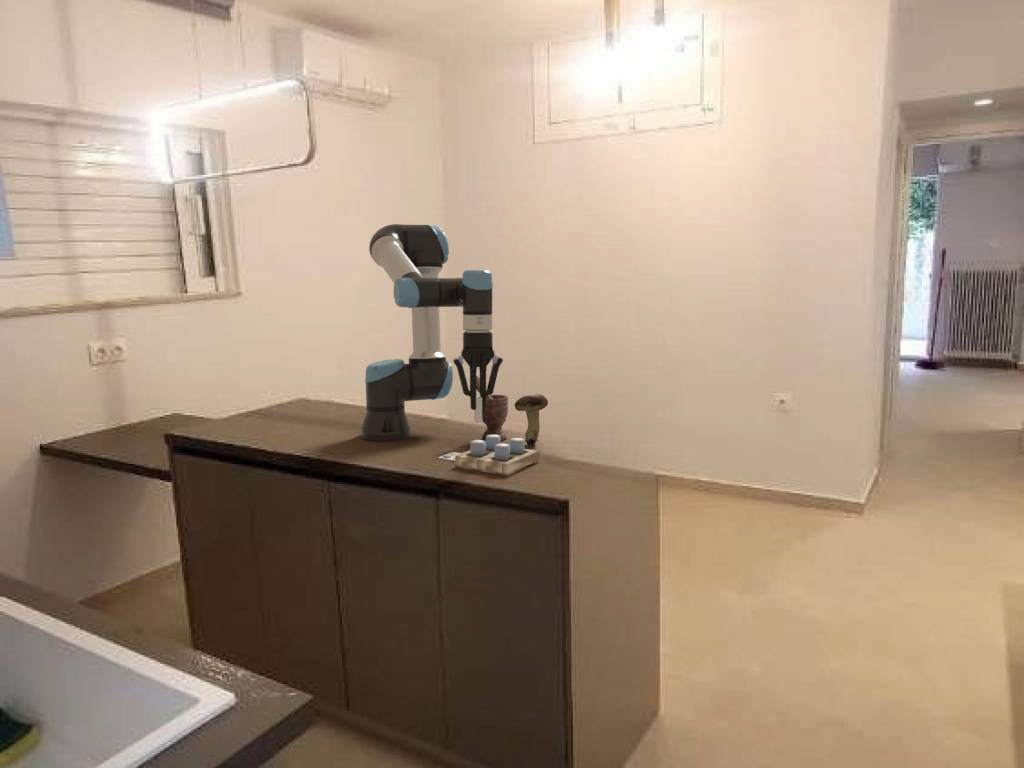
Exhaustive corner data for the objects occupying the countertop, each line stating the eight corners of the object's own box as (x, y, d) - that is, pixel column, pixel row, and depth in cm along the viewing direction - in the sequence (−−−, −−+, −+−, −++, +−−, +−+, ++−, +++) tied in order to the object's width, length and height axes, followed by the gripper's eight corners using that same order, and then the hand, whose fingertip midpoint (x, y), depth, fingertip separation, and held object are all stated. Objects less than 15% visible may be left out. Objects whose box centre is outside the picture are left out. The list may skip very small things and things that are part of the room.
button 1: (467, 455, 187) (467, 442, 187) (475, 452, 191) (475, 439, 190) (480, 457, 185) (480, 443, 185) (488, 454, 189) (488, 440, 188)
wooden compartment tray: (455, 466, 187) (455, 455, 186) (488, 453, 200) (488, 443, 200) (507, 476, 179) (507, 464, 178) (538, 461, 192) (538, 450, 192)
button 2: (483, 449, 194) (483, 436, 193) (490, 446, 197) (490, 433, 196) (495, 451, 192) (495, 438, 191) (503, 448, 195) (503, 435, 194)
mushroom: (553, 444, 212) (554, 394, 209) (534, 450, 205) (535, 398, 203) (529, 439, 218) (529, 391, 215) (510, 444, 211) (510, 394, 209)
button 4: (506, 453, 190) (506, 439, 189) (514, 450, 193) (514, 437, 193) (519, 455, 188) (519, 441, 187) (527, 452, 191) (527, 438, 191)
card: (437, 458, 195) (437, 457, 195) (452, 453, 201) (452, 451, 201) (459, 462, 192) (459, 460, 192) (473, 456, 198) (473, 455, 198)
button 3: (491, 459, 183) (491, 445, 183) (499, 456, 187) (499, 442, 186) (504, 461, 181) (504, 447, 181) (512, 458, 185) (512, 444, 184)
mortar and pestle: (486, 445, 211) (486, 378, 208) (466, 440, 216) (466, 375, 213) (513, 438, 219) (513, 374, 216) (493, 434, 225) (493, 371, 222)
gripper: (455, 332, 178) (456, 425, 181) (505, 331, 181) (506, 423, 184) (450, 330, 185) (451, 420, 188) (499, 329, 188) (499, 418, 191)
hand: (478, 421), depth 186 cm, fingers closed
